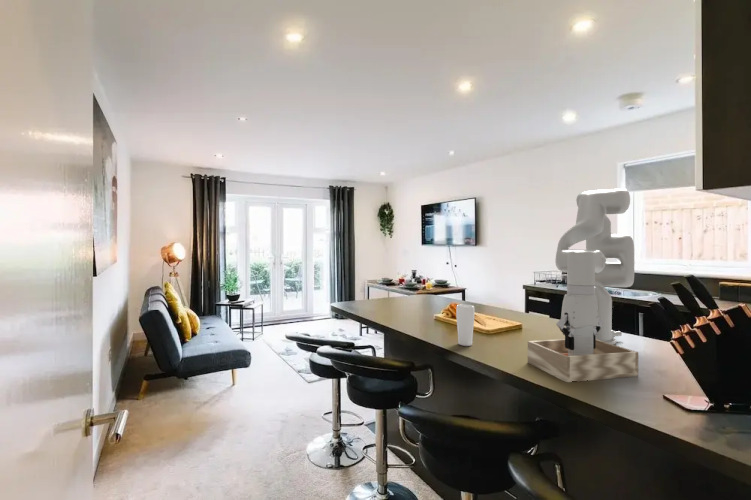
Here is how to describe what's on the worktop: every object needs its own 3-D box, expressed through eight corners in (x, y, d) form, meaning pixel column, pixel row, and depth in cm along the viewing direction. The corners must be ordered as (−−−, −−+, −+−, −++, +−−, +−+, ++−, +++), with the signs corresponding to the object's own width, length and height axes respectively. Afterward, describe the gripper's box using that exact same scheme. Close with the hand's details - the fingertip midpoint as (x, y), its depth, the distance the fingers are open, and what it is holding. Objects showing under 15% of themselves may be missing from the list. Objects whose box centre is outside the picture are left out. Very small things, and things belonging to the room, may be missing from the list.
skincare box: (587, 361, 119) (587, 323, 118) (593, 365, 114) (594, 326, 114) (567, 360, 119) (567, 323, 119) (572, 365, 115) (573, 325, 115)
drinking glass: (462, 341, 150) (462, 303, 150) (477, 344, 145) (477, 305, 145) (452, 344, 145) (452, 305, 145) (468, 347, 141) (468, 307, 140)
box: (590, 358, 128) (591, 337, 128) (638, 376, 110) (638, 352, 110) (527, 362, 123) (527, 341, 123) (566, 382, 105) (566, 357, 105)
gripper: (595, 288, 122) (594, 343, 122) (547, 289, 118) (547, 346, 119) (614, 291, 115) (613, 350, 115) (564, 292, 111) (564, 353, 111)
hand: (580, 347), depth 117 cm, fingers closed on skincare box, 6 cm apart
